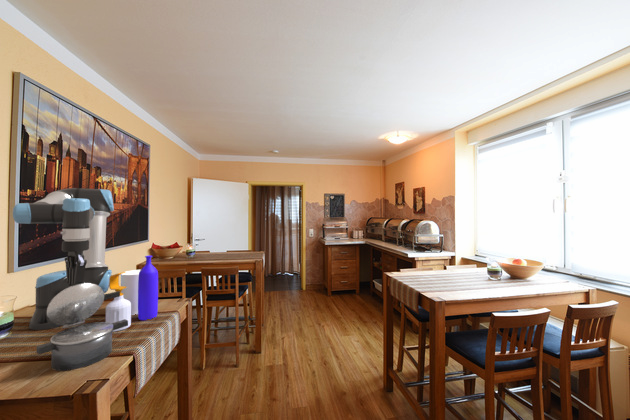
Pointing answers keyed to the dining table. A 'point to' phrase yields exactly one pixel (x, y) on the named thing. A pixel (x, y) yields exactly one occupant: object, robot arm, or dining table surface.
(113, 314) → the soap bottle
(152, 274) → the bottle
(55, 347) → the pot
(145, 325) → the dining table surface
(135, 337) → the dining table surface
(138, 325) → the dining table surface
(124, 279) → the canister
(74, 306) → the lid
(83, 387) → the dining table surface
